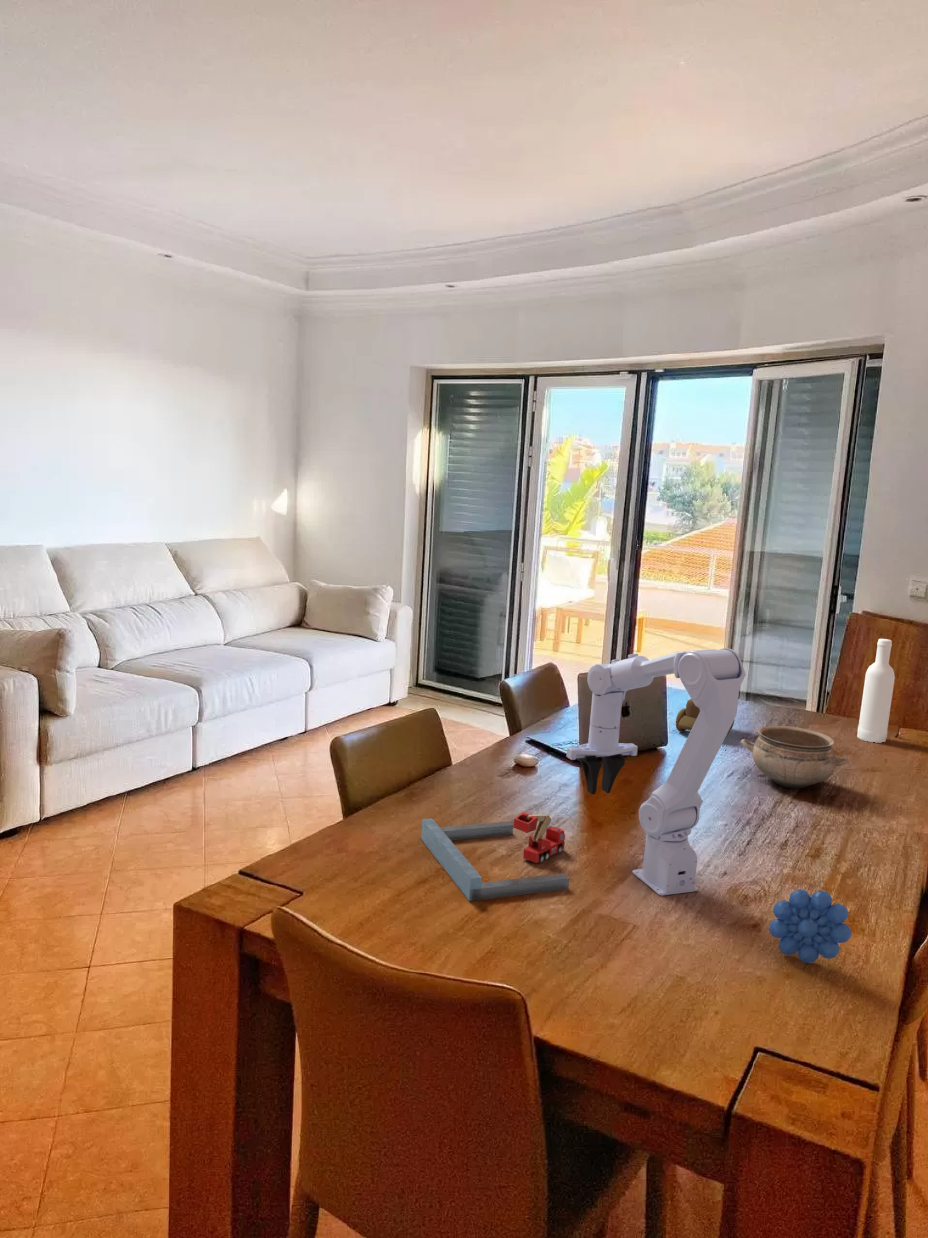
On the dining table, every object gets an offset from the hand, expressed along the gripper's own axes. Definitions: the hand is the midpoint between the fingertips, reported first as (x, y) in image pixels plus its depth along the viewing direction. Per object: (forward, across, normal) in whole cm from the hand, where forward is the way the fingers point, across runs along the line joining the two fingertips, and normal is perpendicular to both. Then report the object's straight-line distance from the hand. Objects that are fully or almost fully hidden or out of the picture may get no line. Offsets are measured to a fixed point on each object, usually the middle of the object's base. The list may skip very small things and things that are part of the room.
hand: (598, 792), depth 175 cm
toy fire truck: (+11, +14, +4) cm, 18 cm away
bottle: (+11, -120, -49) cm, 130 cm away
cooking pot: (+11, -66, -21) cm, 70 cm away
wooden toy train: (+11, -72, -64) cm, 97 cm away
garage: (+10, +24, +4) cm, 26 cm away
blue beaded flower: (+11, -11, +47) cm, 49 cm away
